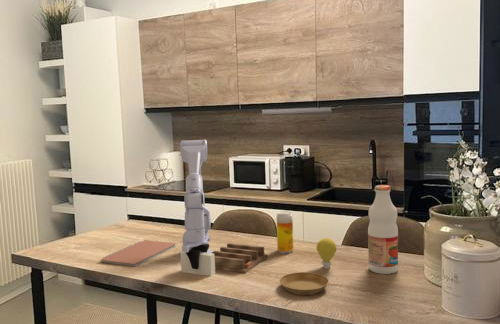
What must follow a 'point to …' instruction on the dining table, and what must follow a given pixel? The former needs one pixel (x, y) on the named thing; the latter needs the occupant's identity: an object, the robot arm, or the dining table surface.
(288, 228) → the beer can
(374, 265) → the fruit juice
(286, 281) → the plant saucer
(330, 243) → the light bulb
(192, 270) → the block
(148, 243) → the notebook
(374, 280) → the dining table surface
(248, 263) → the rack
